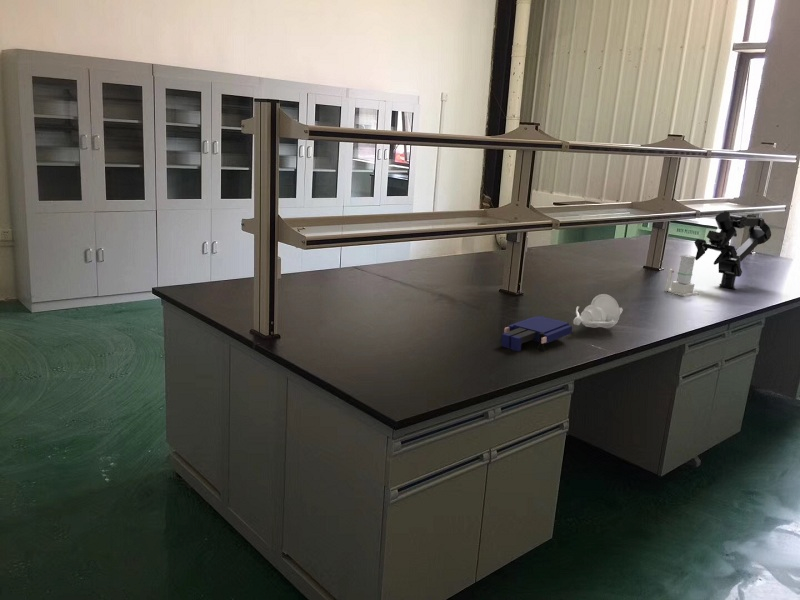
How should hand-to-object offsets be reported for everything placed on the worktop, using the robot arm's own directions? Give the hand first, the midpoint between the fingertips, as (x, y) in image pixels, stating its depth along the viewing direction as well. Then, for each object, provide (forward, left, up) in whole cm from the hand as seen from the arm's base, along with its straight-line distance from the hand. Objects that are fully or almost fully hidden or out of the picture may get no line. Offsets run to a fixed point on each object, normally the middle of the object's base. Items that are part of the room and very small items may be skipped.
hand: (704, 261), depth 297 cm
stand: (+10, -7, -13) cm, 18 cm away
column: (+10, -7, -10) cm, 16 cm away
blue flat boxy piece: (+120, -48, -14) cm, 130 cm away
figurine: (+93, -32, -14) cm, 99 cm away
